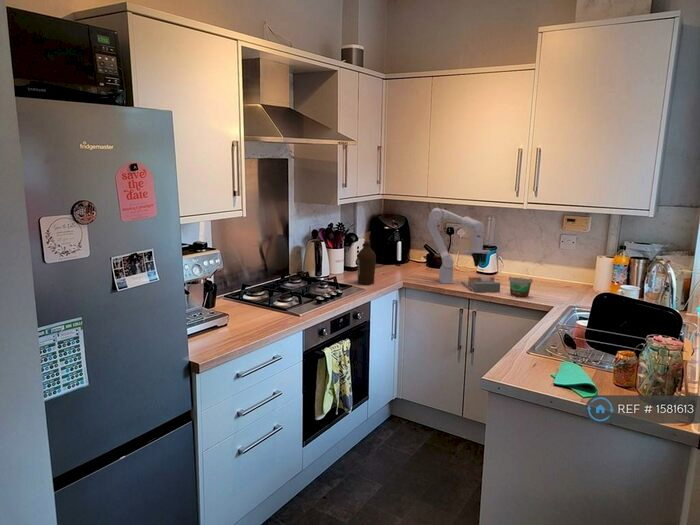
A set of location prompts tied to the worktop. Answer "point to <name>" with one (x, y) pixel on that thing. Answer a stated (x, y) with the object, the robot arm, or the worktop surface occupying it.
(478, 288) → the vise
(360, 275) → the olive oil
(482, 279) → the steel block
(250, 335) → the worktop surface
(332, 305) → the worktop surface
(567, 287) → the worktop surface
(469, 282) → the clamp jaw
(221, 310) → the worktop surface
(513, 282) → the food container
